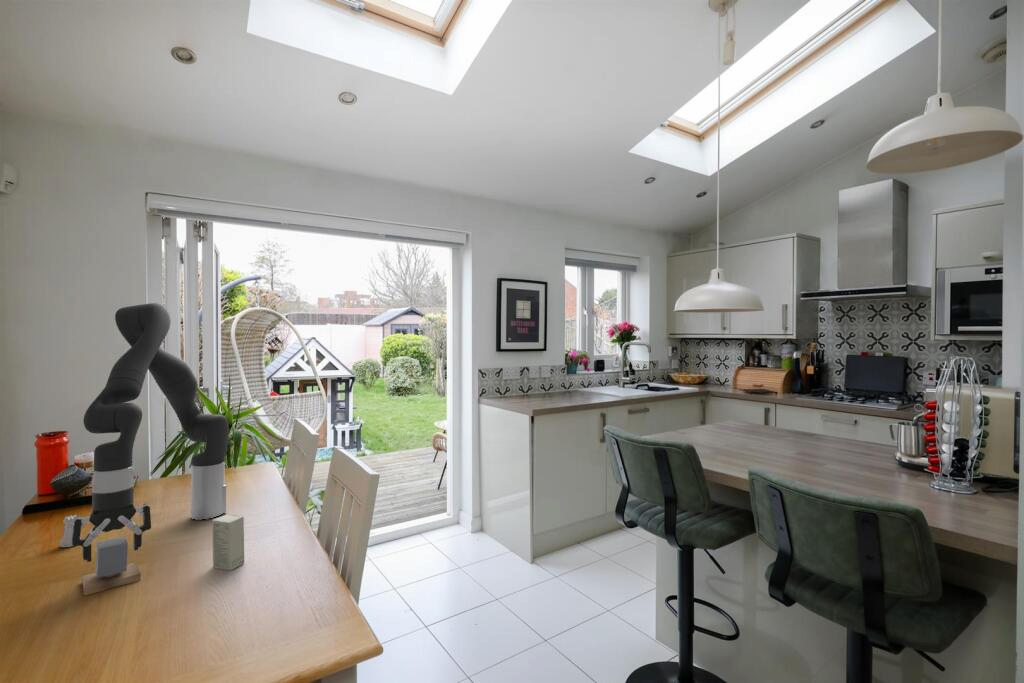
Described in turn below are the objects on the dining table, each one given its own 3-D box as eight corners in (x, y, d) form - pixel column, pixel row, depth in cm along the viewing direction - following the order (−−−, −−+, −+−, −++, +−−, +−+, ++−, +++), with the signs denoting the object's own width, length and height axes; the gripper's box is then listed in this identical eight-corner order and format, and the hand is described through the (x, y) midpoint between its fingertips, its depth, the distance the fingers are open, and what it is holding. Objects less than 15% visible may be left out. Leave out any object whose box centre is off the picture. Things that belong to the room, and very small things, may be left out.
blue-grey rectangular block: (123, 563, 115) (125, 536, 116) (126, 571, 112) (127, 542, 112) (95, 570, 112) (96, 542, 112) (97, 577, 108) (98, 548, 108)
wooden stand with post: (135, 568, 118) (136, 534, 118) (140, 580, 113) (141, 544, 113) (81, 582, 111) (82, 546, 111) (84, 595, 105) (84, 557, 106)
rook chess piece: (67, 549, 129) (68, 520, 129) (55, 547, 130) (55, 518, 130) (85, 542, 133) (86, 514, 133) (73, 541, 134) (73, 513, 134)
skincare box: (244, 563, 121) (245, 516, 122) (229, 571, 117) (230, 522, 117) (226, 559, 123) (227, 513, 124) (210, 567, 119) (211, 519, 119)
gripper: (148, 477, 120) (147, 541, 120) (71, 489, 110) (71, 559, 110) (153, 484, 114) (152, 550, 114) (73, 497, 104) (72, 570, 104)
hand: (112, 554), depth 112 cm, fingers open, 8 cm apart
